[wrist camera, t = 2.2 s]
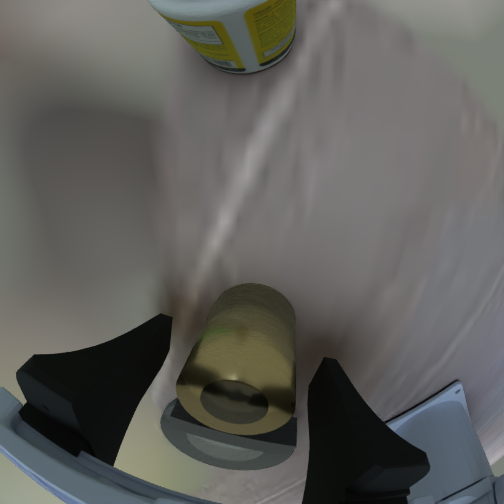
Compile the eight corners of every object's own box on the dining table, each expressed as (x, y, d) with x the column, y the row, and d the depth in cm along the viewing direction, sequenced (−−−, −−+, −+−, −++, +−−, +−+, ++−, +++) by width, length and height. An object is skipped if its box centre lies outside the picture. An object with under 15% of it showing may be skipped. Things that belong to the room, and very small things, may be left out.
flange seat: (165, 374, 17) (147, 407, 14) (316, 412, 17) (318, 449, 14) (163, 443, 21) (152, 468, 18) (272, 471, 21) (269, 497, 17)
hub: (311, 329, 15) (318, 415, 9) (247, 364, 16) (228, 445, 10) (260, 266, 14) (241, 339, 8) (196, 310, 15) (152, 385, 10)
